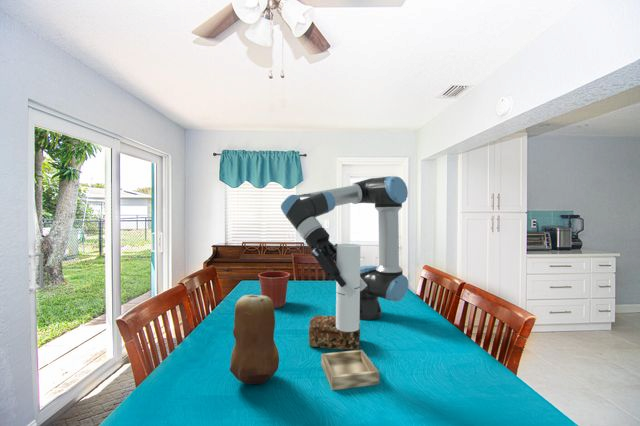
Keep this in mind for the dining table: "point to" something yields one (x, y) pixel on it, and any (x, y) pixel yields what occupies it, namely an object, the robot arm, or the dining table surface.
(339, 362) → the holder tray
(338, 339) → the bread
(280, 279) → the flower pot
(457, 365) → the dining table surface
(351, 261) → the cylindrical container
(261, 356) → the butternut squash
